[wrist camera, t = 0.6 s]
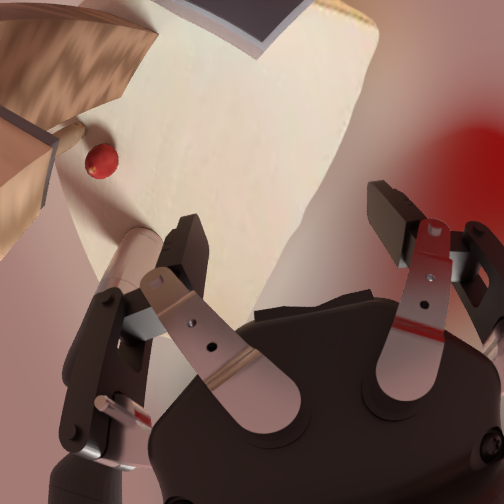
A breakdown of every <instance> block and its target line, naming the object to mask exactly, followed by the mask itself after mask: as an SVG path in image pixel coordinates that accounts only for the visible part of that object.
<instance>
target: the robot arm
mask: <svg viewBox="0 0 504 504" xmlns="http://www.w3.org/2000/svg"><path fill="white" fill-rule="evenodd" d="M367 216H368V220H369V223H370V224H371V226H372V227H373V229H374V231H375V232H376V234H377V235H378V237H379V238H380V240H381V241H382V243H383V244H384V246H385V248H386V249H387V251H388V253H389V254H390V256H391V258H392V259H393V261H394V262H395V264H396V266H397V268H398V269H399V268H403V267H408V268H409V272H408V275H407V279H406V283H405V286H404V290H403V293H402V297H401V300H400V303H398V302H396V301H394V300H390V299H386V298H378V297H373V295H372V292H371V290H370V289H368V290H364V291H359V292H355V293H350V294H345V295H342V296H340V297H337V298H335V299H333V300H330V301H328V302H326V303H324V304H321V305H319V306H316V307H289V306H288V307H286V306H282V307H277V308H271V309H265V310H259V311H254V318H255V320H253V321H251V322H249V323H247V324H245V325H243V326H241V327H240V328H238V329H237V330H235V331H234V330H233V329H232V328H231V327H230V326H229V325H228V324H227V323H226V322H225V321H224V320H223V319H222V318H221V317H220V316H219V315H218V314H217V313H216V312H215V311H214V310H213V309H212V308H211V307H210V306H209V305H208V304H207V303H206V302H205V301H204V300H203V295H204V287H205V280H206V273H207V265H208V259H209V245H208V241H207V238H206V235H205V233H204V230H203V227H202V225H201V222H200V219H199V217H198V215H197V214H192V215H187V216H183V217H181V218H180V220H179V223H178V226H177V228H176V229H172V231H171V232H170V233H169V234H168V235H167V236H166V238H165V241H164V244H163V242H162V240H161V238H160V237H159V236H158V235H157V234H156V233H154V232H153V231H151V230H149V229H146V228H133V229H131V230H129V231H128V232H127V233H126V234H125V236H124V238H123V240H122V241H121V243H120V245H119V247H118V249H117V250H116V252H115V254H114V256H113V258H112V260H111V262H110V264H109V265H108V267H107V269H106V271H105V273H104V275H103V277H102V279H101V281H100V283H99V286H98V288H97V290H96V292H95V294H94V296H93V298H92V301H91V303H90V305H89V308H88V310H87V312H86V314H85V317H84V319H83V322H82V324H81V326H80V328H79V331H78V332H77V335H76V337H75V339H74V341H73V343H72V346H71V347H70V350H69V352H68V354H67V357H66V359H65V362H64V366H63V370H62V379H63V383H64V384H65V385H66V386H67V387H68V389H67V393H66V397H65V402H64V406H63V411H62V416H61V422H60V427H59V439H60V442H61V445H62V446H63V448H64V449H66V450H67V451H69V452H70V453H69V454H68V455H66V456H65V457H64V458H63V459H62V460H61V461H60V462H59V463H58V464H57V465H56V466H55V467H54V469H53V470H52V472H51V475H50V484H49V495H48V503H49V504H122V471H131V470H133V469H135V467H140V468H147V469H153V470H154V472H155V474H156V477H157V479H158V482H159V484H160V488H161V491H162V496H163V504H504V436H503V433H502V429H501V421H500V400H501V397H502V396H504V246H503V245H502V244H501V242H500V241H499V240H498V239H497V237H496V236H495V235H494V234H493V233H492V232H491V230H490V229H489V228H488V227H487V226H485V225H484V224H482V223H480V222H476V221H469V222H467V223H466V225H465V228H464V232H459V231H450V228H449V227H448V225H447V224H445V223H444V222H442V221H440V220H438V219H433V218H427V217H426V216H425V215H424V214H423V213H422V212H421V211H420V210H419V209H418V208H417V207H416V206H415V205H414V204H413V202H411V201H410V200H409V198H408V197H407V196H406V195H405V194H404V193H402V192H400V191H398V190H396V189H392V188H391V187H390V186H389V185H388V184H387V183H386V182H385V181H384V180H379V181H372V182H369V183H368V186H367ZM481 266H482V267H483V268H484V270H485V272H486V273H487V275H488V278H489V287H488V288H487V287H486V285H485V283H484V282H483V280H482V278H481V277H480V275H479V274H478V272H479V270H480V267H481ZM451 283H452V284H453V286H454V288H455V290H456V291H457V293H458V295H459V297H460V299H461V301H462V303H463V304H464V306H465V308H466V310H467V312H468V314H469V316H470V318H471V320H472V322H473V324H474V327H475V328H476V331H477V333H478V335H479V337H480V339H481V342H482V344H483V348H482V353H481V352H480V351H478V350H476V349H475V348H473V347H472V346H470V345H469V344H467V343H465V342H464V341H462V340H461V339H459V338H457V337H456V336H454V335H452V334H451V333H449V332H448V331H446V330H445V329H444V328H445V324H446V317H447V311H448V304H449V296H450V288H451ZM166 332H168V334H169V335H170V337H171V338H172V339H173V341H174V342H175V344H176V345H177V347H178V348H179V349H180V351H181V352H182V353H183V355H184V356H185V358H186V359H187V360H188V362H189V363H190V364H191V366H192V367H193V368H194V370H195V371H196V372H197V375H196V376H195V378H194V379H193V380H192V381H191V382H190V384H189V385H188V386H187V387H186V388H185V389H184V391H183V392H182V393H181V394H180V395H179V396H178V398H177V399H176V400H175V401H174V402H173V403H172V405H171V406H170V407H169V408H168V409H167V410H166V412H165V413H164V414H163V415H162V416H161V417H160V418H159V420H158V421H157V422H156V423H155V425H154V426H153V427H152V425H151V417H150V414H149V413H148V411H147V410H146V409H144V400H145V391H146V382H147V375H148V368H149V360H150V354H151V347H152V341H153V338H154V337H156V336H159V335H161V334H164V333H166ZM119 339H120V340H121V342H120V346H119V349H118V348H117V345H118V341H119Z"/></svg>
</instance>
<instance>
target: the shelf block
mask: <svg viewBox="0 0 504 504" xmlns="http://www.w3.org/2000/svg"><path fill="white" fill-rule="evenodd" d="M158 35H159V34H157V33H155V32H153V31H150V30H148V29H146V28H144V27H141V26H139V25H136V24H134V23H132V22H129V21H127V20H124V19H121V18H119V17H116V16H113V15H111V14H108V13H105V12H102V11H98V10H93V9H88V8H82V7H75V6H67V5H58V4H47V3H0V105H1V106H3V107H5V108H7V109H8V110H10V111H12V112H14V113H15V114H17V115H19V116H21V117H22V118H24V119H26V120H28V121H29V122H31V123H33V124H35V125H36V126H38V127H40V128H42V129H43V130H45V131H47V130H48V129H50V128H52V127H54V126H56V125H58V124H60V123H62V122H64V121H66V120H68V119H70V118H72V117H74V116H76V115H79V114H81V113H83V112H85V111H88V110H90V109H92V108H95V107H97V106H99V105H102V104H104V103H107V102H110V101H112V100H115V99H118V98H120V97H121V96H122V94H123V92H124V90H125V88H126V87H127V85H128V83H129V81H130V79H131V78H132V76H133V74H134V72H135V71H136V69H137V67H138V66H139V64H140V62H141V61H142V59H143V58H144V56H145V54H146V53H147V51H148V50H149V48H150V47H151V45H152V44H153V42H154V41H155V39H156V38H157V36H158Z"/></svg>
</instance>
